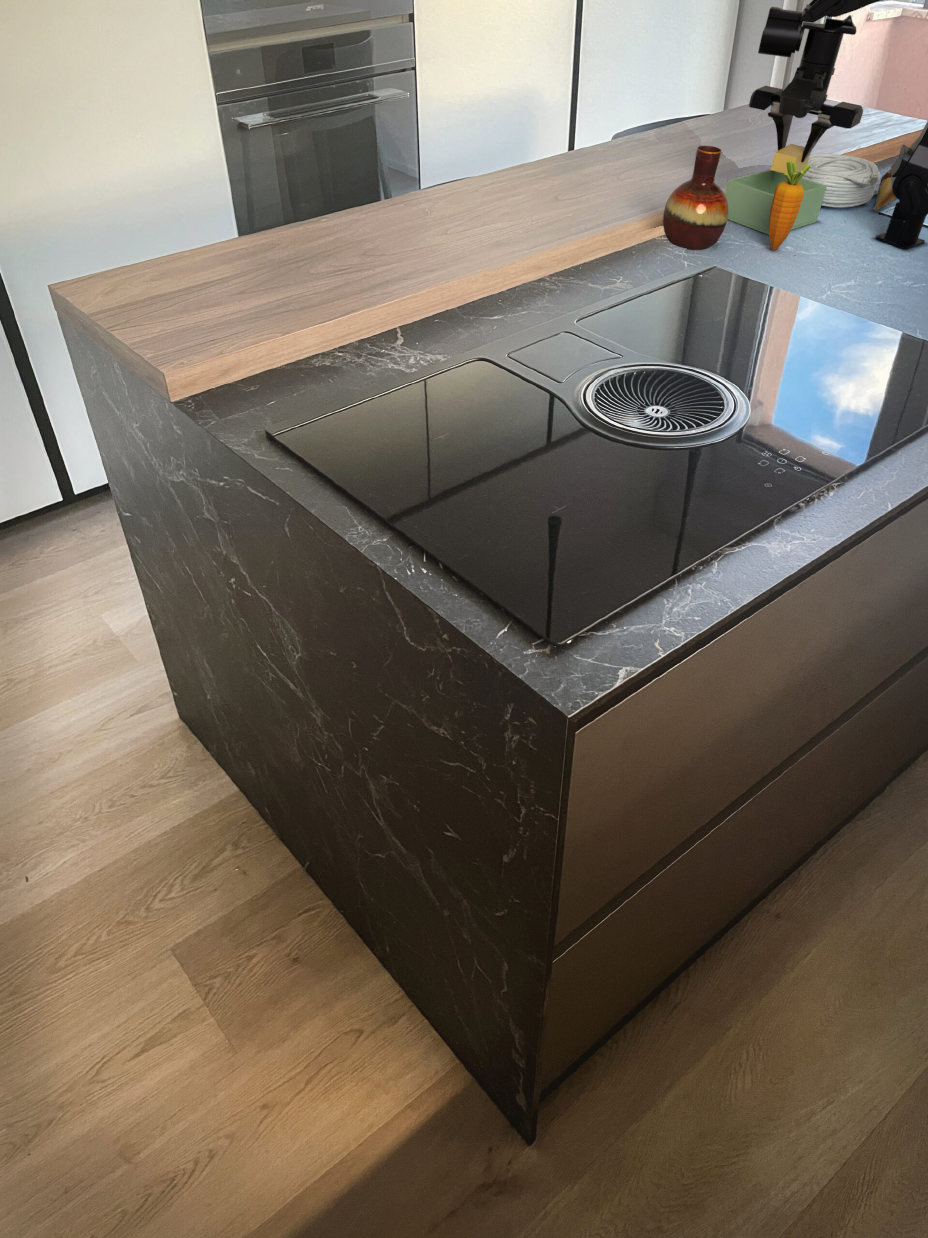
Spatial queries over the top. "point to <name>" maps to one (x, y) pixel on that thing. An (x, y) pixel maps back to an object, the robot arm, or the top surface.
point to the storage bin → (768, 200)
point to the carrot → (785, 205)
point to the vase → (697, 205)
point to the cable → (843, 178)
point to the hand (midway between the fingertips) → (791, 158)
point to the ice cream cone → (884, 191)
